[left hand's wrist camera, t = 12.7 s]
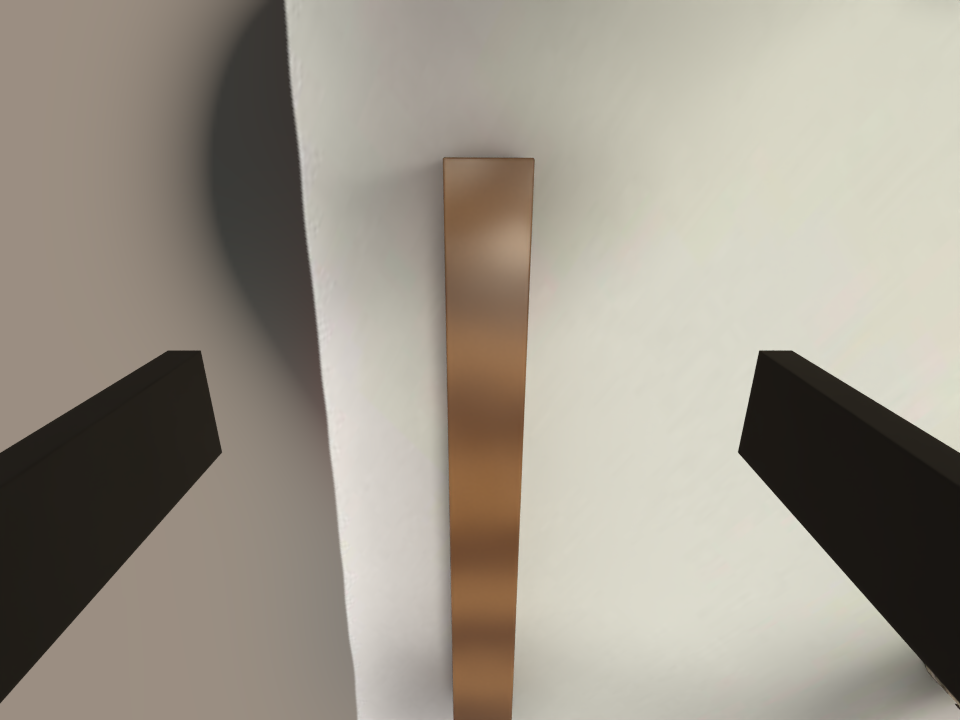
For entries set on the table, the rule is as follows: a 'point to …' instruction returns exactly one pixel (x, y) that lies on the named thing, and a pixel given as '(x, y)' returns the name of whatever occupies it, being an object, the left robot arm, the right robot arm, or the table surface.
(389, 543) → the table surface
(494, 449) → the post
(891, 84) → the table surface
